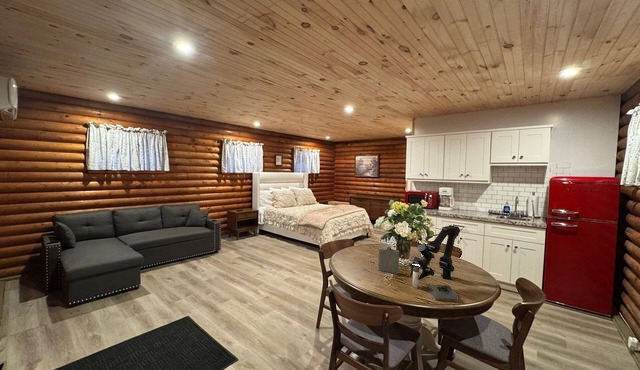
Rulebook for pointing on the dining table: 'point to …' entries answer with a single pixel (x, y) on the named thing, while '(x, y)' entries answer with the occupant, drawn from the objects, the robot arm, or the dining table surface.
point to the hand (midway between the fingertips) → (414, 277)
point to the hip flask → (388, 260)
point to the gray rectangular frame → (443, 292)
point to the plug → (415, 277)
